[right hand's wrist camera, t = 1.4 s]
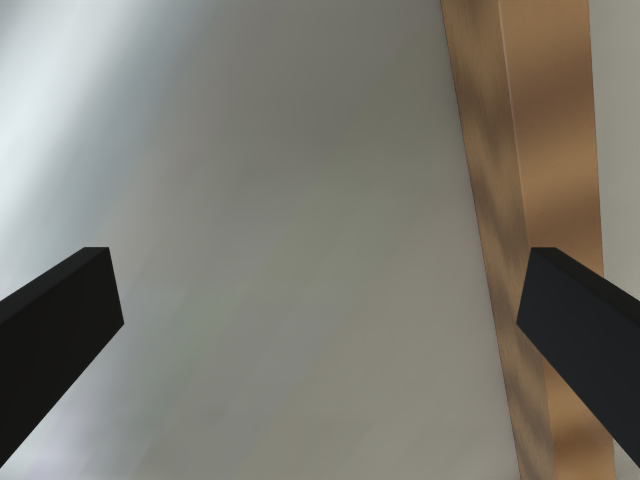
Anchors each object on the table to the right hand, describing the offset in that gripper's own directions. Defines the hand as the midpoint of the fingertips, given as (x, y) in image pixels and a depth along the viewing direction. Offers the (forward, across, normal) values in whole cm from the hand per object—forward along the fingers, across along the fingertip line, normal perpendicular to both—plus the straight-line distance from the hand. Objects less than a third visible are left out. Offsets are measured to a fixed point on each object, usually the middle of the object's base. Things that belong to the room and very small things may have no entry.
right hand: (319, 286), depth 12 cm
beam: (+19, +17, -10) cm, 27 cm away
